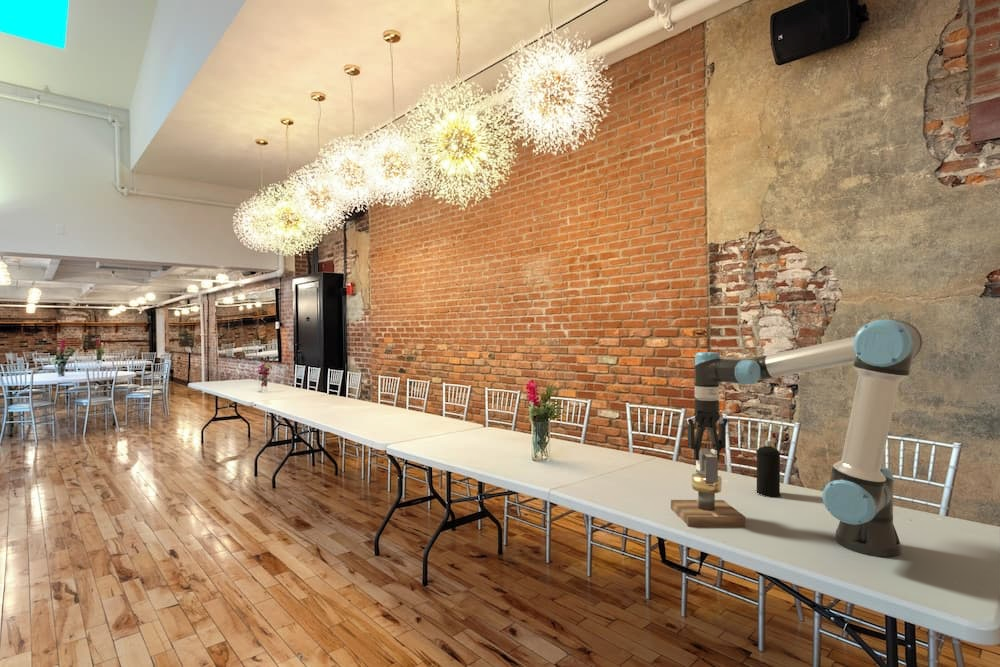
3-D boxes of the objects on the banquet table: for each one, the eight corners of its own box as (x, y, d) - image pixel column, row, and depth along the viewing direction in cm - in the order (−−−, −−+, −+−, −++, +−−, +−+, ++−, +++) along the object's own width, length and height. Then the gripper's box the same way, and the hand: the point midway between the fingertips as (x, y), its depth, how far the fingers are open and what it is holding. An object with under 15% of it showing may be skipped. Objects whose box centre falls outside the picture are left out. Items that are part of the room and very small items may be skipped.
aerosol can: (779, 498, 185) (780, 444, 185) (754, 495, 190) (754, 441, 189) (781, 492, 192) (781, 440, 192) (756, 489, 197) (757, 437, 196)
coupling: (715, 483, 172) (715, 448, 172) (726, 495, 160) (726, 456, 160) (687, 482, 173) (687, 447, 173) (697, 494, 161) (697, 455, 161)
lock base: (745, 526, 159) (745, 497, 159) (688, 526, 159) (688, 497, 159) (723, 508, 175) (723, 482, 175) (670, 508, 175) (670, 482, 175)
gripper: (686, 400, 162) (686, 473, 162) (738, 400, 164) (738, 472, 164) (676, 397, 170) (675, 467, 170) (726, 397, 171) (725, 466, 171)
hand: (706, 469), depth 167 cm, fingers closed on coupling, 4 cm apart
